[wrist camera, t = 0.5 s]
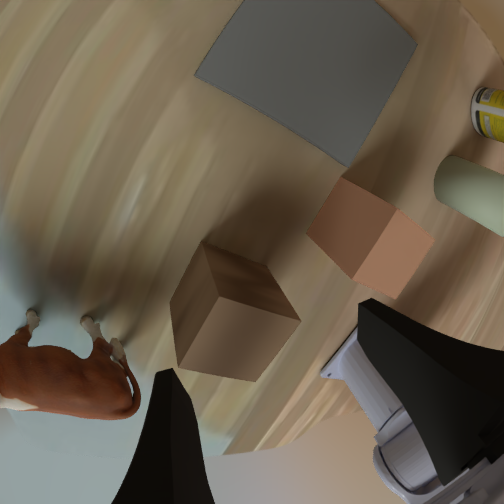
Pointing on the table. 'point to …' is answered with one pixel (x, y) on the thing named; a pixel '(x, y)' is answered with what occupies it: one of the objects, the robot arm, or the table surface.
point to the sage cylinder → (472, 191)
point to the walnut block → (229, 315)
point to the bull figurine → (67, 376)
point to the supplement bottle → (488, 113)
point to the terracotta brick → (369, 238)
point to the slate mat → (312, 66)
